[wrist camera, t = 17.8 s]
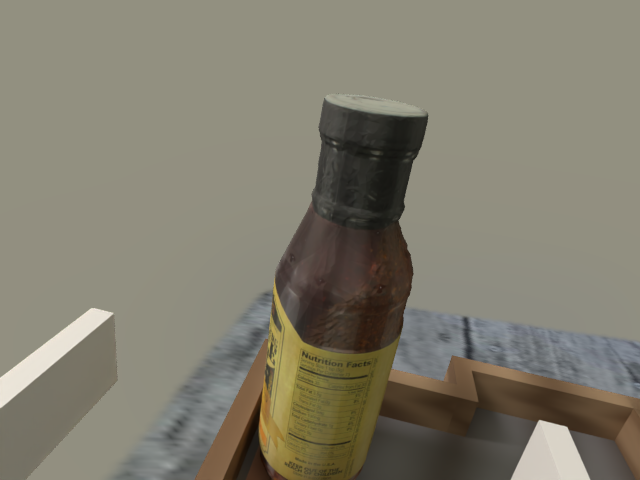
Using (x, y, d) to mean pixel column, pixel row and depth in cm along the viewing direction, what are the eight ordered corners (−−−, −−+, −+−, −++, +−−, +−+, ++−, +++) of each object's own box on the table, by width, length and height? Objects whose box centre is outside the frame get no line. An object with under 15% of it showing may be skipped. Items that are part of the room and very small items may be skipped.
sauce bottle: (287, 400, 28) (336, 85, 20) (376, 441, 26) (469, 111, 18) (229, 479, 23) (265, 87, 15) (337, 539, 21) (446, 123, 13)
